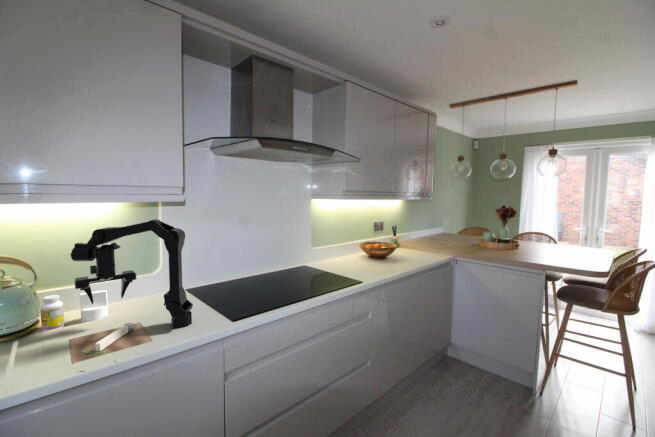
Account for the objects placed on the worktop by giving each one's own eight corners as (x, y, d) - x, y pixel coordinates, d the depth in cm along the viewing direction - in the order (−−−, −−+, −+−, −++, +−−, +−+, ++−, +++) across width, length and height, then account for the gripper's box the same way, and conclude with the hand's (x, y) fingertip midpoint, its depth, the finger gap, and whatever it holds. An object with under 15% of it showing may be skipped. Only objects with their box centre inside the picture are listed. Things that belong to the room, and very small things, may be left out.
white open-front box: (80, 326, 121) (78, 297, 120) (82, 318, 128) (81, 291, 127) (107, 321, 126) (106, 293, 125) (108, 314, 133) (107, 287, 132)
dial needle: (127, 328, 116) (127, 321, 116) (135, 329, 116) (134, 322, 116) (93, 351, 100) (93, 343, 100) (102, 351, 100) (102, 343, 99)
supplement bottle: (39, 329, 118) (37, 297, 117) (61, 323, 124) (59, 292, 123) (44, 334, 114) (42, 300, 113) (67, 327, 120) (65, 296, 119)
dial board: (140, 325, 123) (140, 321, 122) (153, 344, 108) (152, 340, 108) (69, 343, 108) (68, 338, 108) (72, 368, 93) (72, 363, 93)
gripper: (130, 254, 128) (131, 290, 129) (72, 260, 115) (74, 300, 117) (135, 258, 120) (137, 297, 121) (74, 266, 107) (76, 309, 108)
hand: (107, 300), depth 117 cm, fingers open, 9 cm apart
